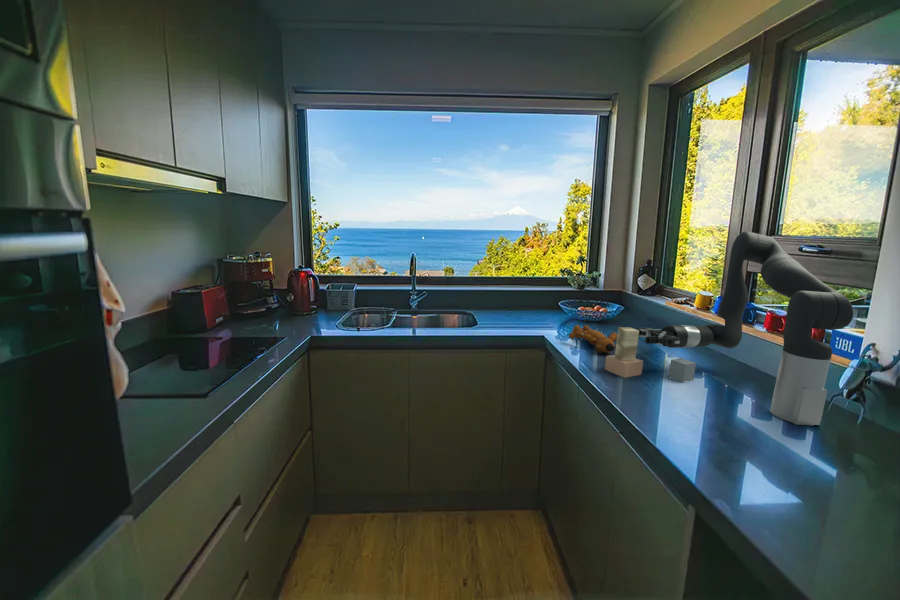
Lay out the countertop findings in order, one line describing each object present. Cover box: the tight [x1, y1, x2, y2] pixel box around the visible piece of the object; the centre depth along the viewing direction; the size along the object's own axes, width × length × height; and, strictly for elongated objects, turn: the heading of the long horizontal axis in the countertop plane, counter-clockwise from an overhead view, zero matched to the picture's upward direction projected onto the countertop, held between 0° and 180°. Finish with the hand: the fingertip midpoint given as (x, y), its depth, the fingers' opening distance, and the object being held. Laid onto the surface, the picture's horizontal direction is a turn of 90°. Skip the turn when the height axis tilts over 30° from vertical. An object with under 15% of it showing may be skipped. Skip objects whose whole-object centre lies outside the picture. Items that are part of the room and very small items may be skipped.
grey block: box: [668, 357, 697, 383], centre depth 127 cm, size 5×5×6 cm
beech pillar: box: [614, 326, 639, 361], centre depth 130 cm, size 4×4×10 cm
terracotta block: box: [604, 354, 644, 379], centre depth 131 cm, size 8×8×5 cm
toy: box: [568, 324, 618, 354], centre depth 161 cm, size 20×7×30 cm
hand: (637, 336), depth 130 cm, fingers open, 8 cm apart
